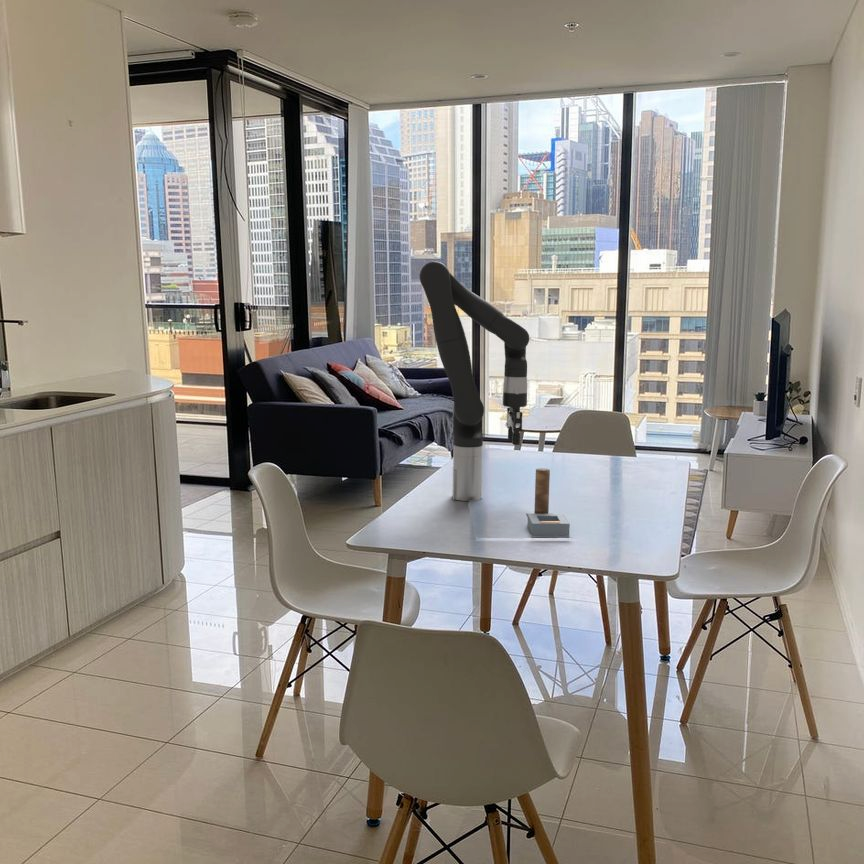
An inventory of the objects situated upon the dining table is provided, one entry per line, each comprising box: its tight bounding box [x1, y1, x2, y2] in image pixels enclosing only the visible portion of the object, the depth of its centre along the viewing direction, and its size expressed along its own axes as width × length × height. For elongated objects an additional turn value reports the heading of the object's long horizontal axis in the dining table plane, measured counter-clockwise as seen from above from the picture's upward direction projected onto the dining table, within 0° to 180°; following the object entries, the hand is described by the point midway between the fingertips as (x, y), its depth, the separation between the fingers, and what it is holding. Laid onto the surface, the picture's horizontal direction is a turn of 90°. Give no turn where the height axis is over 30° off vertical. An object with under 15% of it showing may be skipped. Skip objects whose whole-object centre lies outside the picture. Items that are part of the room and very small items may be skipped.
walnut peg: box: [533, 467, 551, 514], centre depth 248 cm, size 4×4×14 cm
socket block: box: [527, 513, 571, 539], centre depth 236 cm, size 10×10×4 cm
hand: (513, 442), depth 270 cm, fingers open, 8 cm apart
